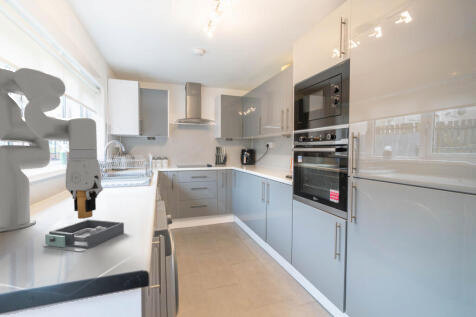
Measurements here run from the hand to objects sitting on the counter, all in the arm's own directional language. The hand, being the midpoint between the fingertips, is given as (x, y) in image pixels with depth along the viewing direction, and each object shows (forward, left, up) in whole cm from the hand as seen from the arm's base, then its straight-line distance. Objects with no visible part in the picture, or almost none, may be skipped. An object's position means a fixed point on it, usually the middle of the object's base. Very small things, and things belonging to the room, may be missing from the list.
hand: (85, 210), depth 71 cm
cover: (-2, -9, -9) cm, 12 cm away
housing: (+1, -1, -9) cm, 9 cm away
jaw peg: (0, 0, -2) cm, 2 cm away
